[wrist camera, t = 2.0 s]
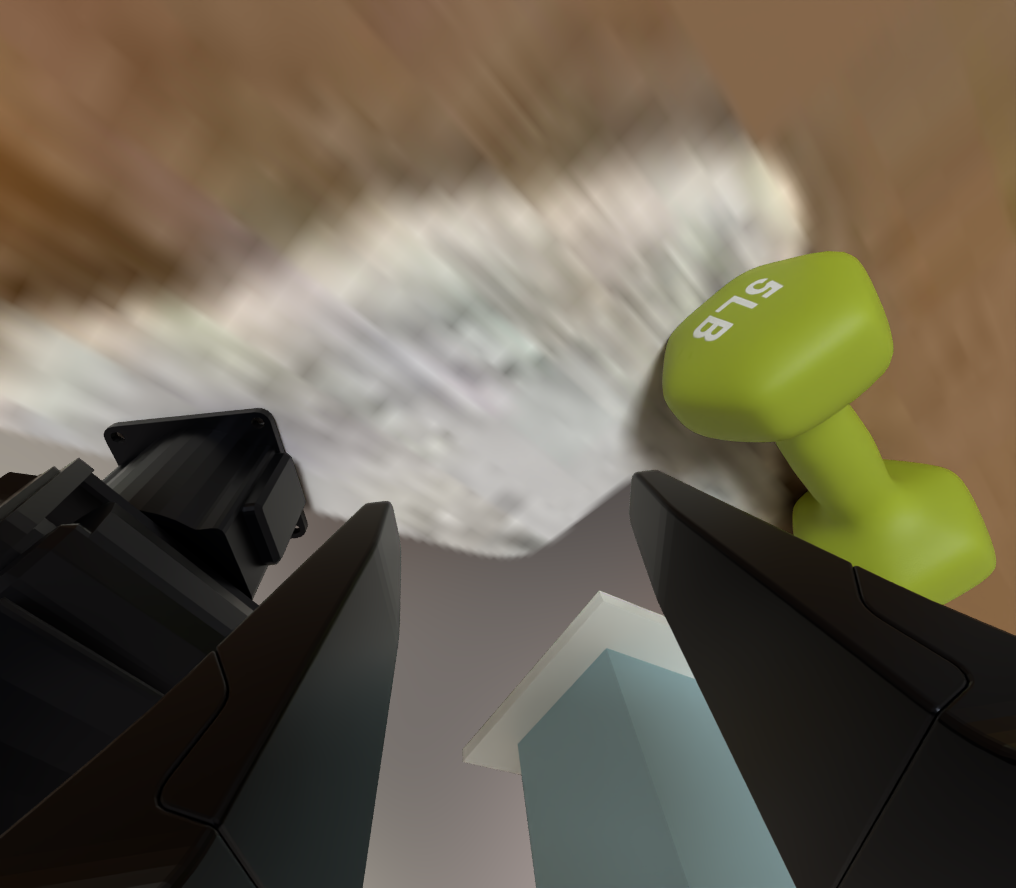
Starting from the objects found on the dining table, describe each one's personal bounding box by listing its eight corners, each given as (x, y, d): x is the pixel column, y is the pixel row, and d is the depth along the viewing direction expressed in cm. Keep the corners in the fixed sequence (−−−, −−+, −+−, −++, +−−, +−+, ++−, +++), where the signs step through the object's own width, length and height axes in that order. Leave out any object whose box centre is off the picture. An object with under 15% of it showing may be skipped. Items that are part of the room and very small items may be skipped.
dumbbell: (909, 468, 26) (1054, 559, 20) (778, 553, 28) (874, 660, 22) (779, 218, 20) (939, 236, 13) (618, 352, 21) (691, 424, 15)
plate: (462, 749, 33) (462, 762, 33) (599, 590, 28) (603, 600, 27) (644, 792, 39) (648, 803, 38) (790, 666, 33) (798, 677, 33)
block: (517, 744, 32) (556, 1048, 21) (606, 648, 29) (711, 951, 18) (622, 770, 35) (707, 1049, 24) (714, 686, 32) (864, 966, 21)
